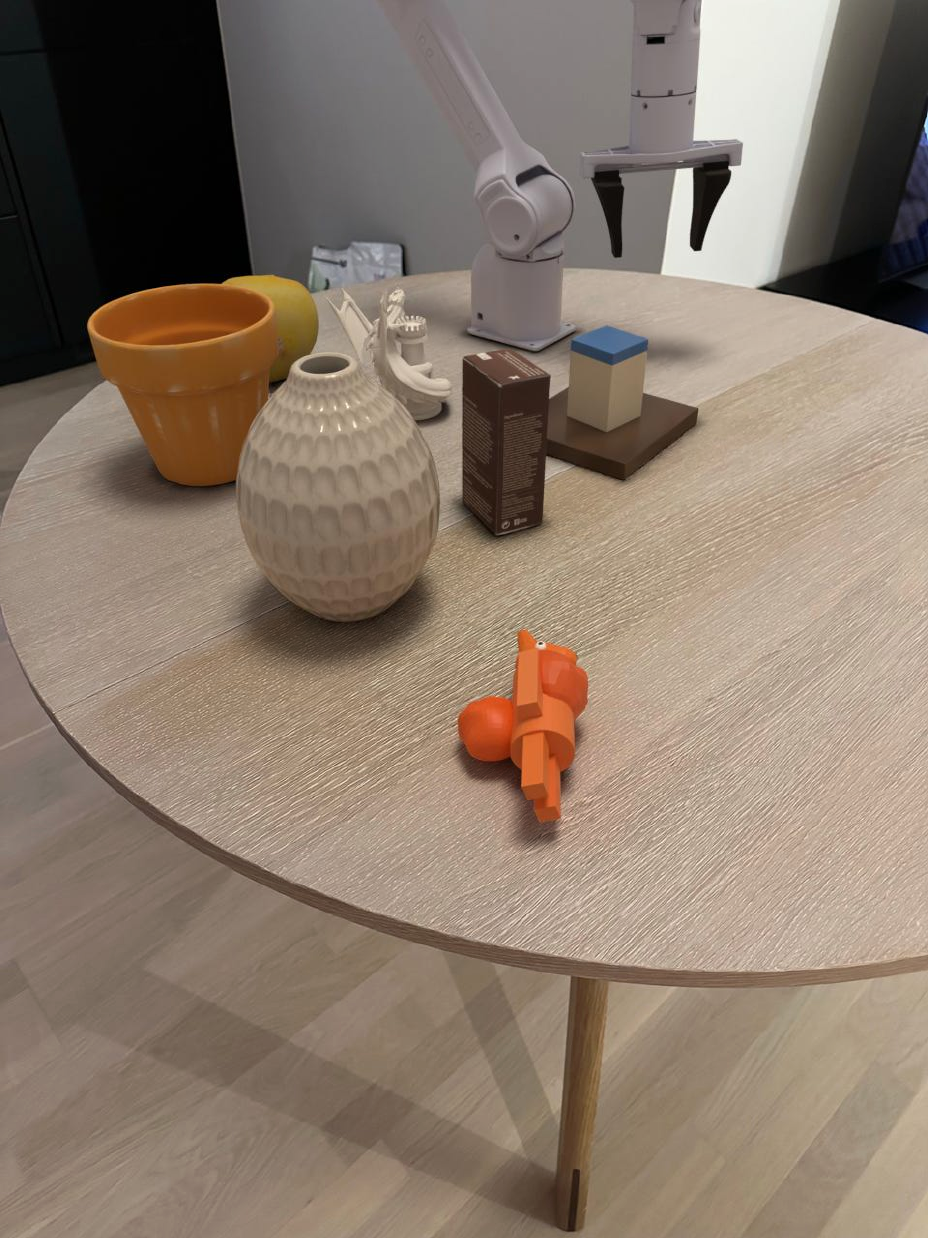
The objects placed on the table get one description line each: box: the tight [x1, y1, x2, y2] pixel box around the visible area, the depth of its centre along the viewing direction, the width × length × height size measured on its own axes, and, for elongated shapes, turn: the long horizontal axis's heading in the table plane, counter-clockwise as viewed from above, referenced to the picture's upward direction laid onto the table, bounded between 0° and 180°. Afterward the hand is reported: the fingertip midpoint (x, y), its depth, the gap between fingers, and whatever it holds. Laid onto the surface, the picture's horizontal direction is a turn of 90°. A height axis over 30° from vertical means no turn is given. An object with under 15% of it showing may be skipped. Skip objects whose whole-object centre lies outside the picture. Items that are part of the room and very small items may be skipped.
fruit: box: [221, 274, 320, 383], centre depth 92 cm, size 10×11×10 cm
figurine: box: [325, 286, 453, 421], centre depth 84 cm, size 11×8×12 cm
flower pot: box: [86, 283, 279, 487], centre depth 76 cm, size 14×14×13 cm
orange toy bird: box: [457, 629, 589, 823], centre depth 51 cm, size 5×8×12 cm
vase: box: [235, 351, 441, 623], centre depth 59 cm, size 13×13×17 cm
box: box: [461, 348, 552, 536], centre depth 69 cm, size 6×4×12 cm
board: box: [546, 386, 699, 481], centre depth 83 cm, size 12×13×2 cm
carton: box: [567, 325, 649, 432], centre depth 80 cm, size 5×5×7 cm
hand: (656, 251), depth 90 cm, fingers open, 7 cm apart
